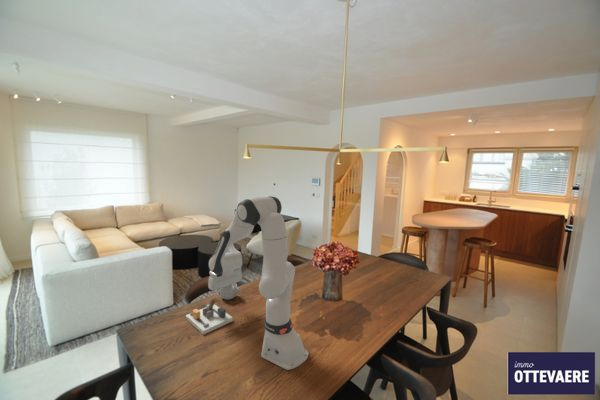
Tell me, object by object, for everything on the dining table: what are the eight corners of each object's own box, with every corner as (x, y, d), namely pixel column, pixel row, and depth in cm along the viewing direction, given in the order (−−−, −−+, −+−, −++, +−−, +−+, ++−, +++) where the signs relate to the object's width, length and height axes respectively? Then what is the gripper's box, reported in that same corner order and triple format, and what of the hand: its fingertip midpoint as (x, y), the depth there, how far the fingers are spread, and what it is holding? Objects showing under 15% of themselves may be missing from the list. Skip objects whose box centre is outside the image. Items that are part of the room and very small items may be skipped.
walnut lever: (210, 315, 145) (217, 298, 147) (206, 315, 143) (214, 297, 145) (208, 313, 147) (215, 296, 149) (204, 313, 145) (211, 295, 147)
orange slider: (200, 317, 143) (200, 311, 142) (195, 319, 141) (195, 313, 140) (196, 314, 145) (196, 308, 145) (192, 316, 143) (192, 310, 143)
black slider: (225, 315, 145) (225, 309, 144) (221, 317, 143) (221, 311, 142) (221, 313, 147) (221, 307, 147) (217, 314, 146) (217, 308, 145)
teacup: (216, 298, 168) (215, 286, 167) (228, 292, 177) (228, 280, 176) (233, 304, 161) (232, 292, 160) (244, 297, 171) (244, 285, 170)
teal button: (213, 307, 153) (213, 305, 152) (207, 310, 150) (207, 307, 150) (210, 305, 155) (210, 303, 155) (205, 307, 152) (205, 305, 152)
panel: (232, 320, 144) (232, 311, 144) (203, 334, 132) (202, 324, 131) (214, 307, 158) (214, 298, 157) (185, 318, 145) (185, 309, 145)
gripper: (238, 263, 160) (238, 285, 162) (206, 272, 146) (206, 296, 147) (244, 266, 156) (244, 288, 158) (212, 276, 141) (212, 300, 143)
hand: (225, 292), depth 153 cm, fingers open, 8 cm apart
